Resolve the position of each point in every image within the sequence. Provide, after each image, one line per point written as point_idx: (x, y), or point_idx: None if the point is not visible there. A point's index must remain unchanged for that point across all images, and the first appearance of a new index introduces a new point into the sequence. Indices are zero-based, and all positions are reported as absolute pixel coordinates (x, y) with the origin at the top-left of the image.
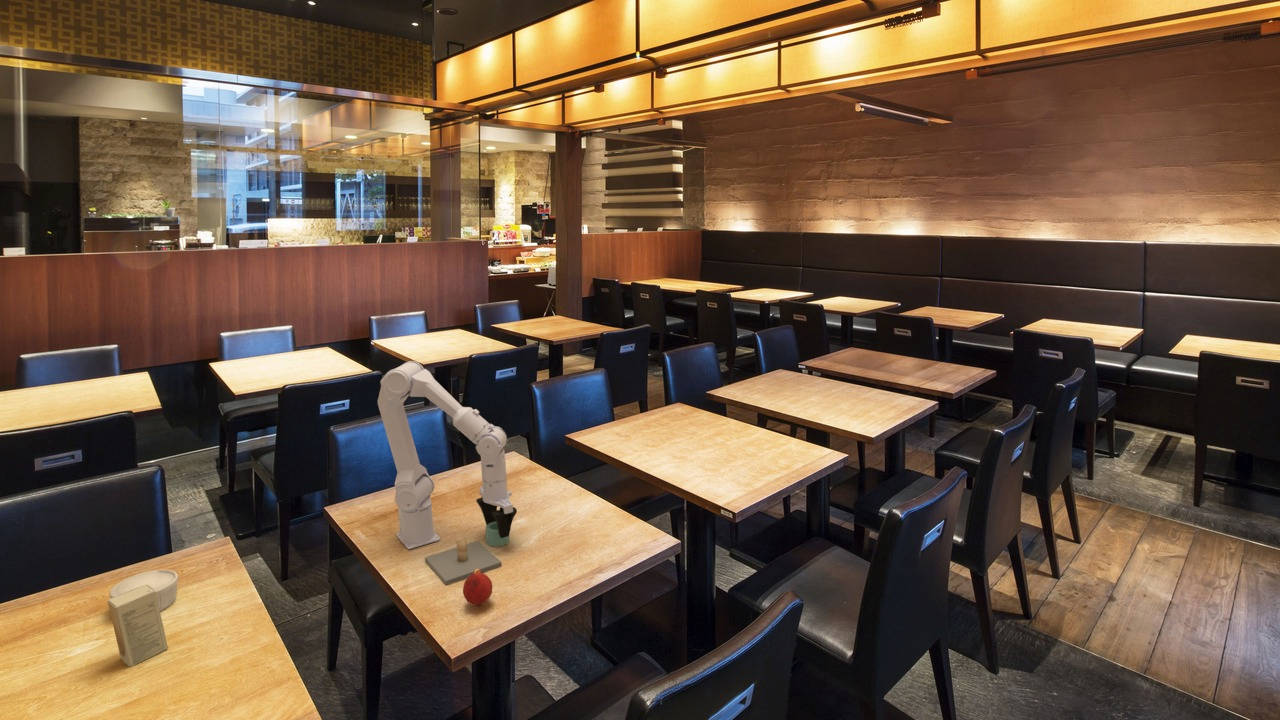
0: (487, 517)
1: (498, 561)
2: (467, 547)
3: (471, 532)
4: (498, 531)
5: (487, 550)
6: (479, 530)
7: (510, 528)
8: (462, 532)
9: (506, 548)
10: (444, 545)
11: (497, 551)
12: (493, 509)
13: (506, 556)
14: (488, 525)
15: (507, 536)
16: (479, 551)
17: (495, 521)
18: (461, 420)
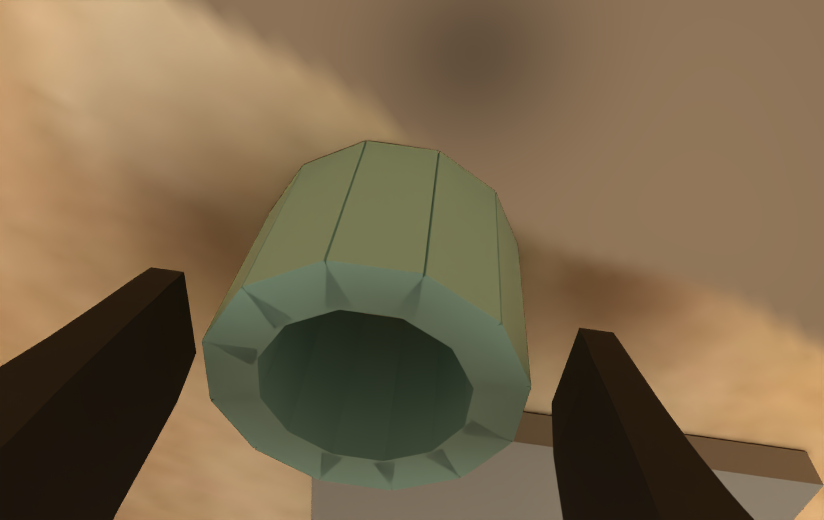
0: (132, 452)
1: (790, 491)
2: (370, 498)
3: (51, 312)
4: (506, 441)
5: (544, 451)
6: (39, 249)
7: (660, 403)
8: (17, 354)
9: (594, 281)
10: (180, 499)
11: (567, 355)
12: (45, 477)
13: (720, 357)
14: (272, 437)
15: (506, 258)
16: (506, 487)
17: (209, 340)
18: None
